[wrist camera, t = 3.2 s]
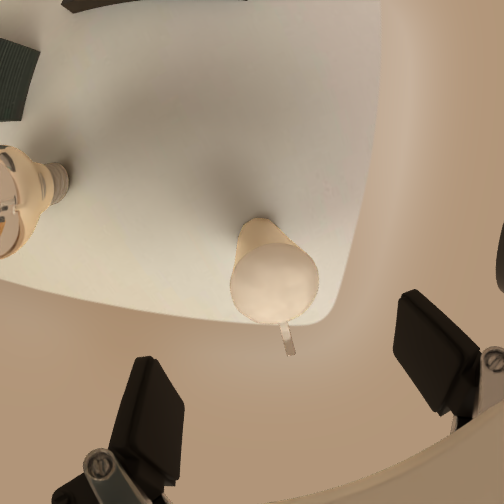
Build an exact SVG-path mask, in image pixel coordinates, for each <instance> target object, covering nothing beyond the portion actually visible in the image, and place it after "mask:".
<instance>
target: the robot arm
mask: <svg viewBox="0 0 504 504" xmlns="http://www.w3.org/2000/svg"><path fill="white" fill-rule="evenodd" d="M479 350H480V348H479V347H478V346H477V345H476V344H475V343H474V342H473V341H472V340H471V339H470V338H469V337H468V336H467V335H466V334H465V333H464V332H463V331H462V330H461V329H460V328H459V327H458V326H456V324H455V323H453V322H452V321H451V320H450V319H449V318H448V317H447V316H446V315H445V314H444V313H443V312H442V311H441V310H439V309H438V308H437V307H436V306H435V305H434V304H433V303H432V302H430V301H429V300H428V299H427V298H426V297H425V296H424V295H423V294H421V293H420V292H419V291H418V290H416V289H414V290H411V291H408V292H405V293H403V294H402V296H401V298H400V299H399V301H398V310H397V320H396V328H395V336H394V343H393V353H394V355H395V357H396V358H397V360H398V361H399V363H400V364H401V365H402V367H403V368H404V369H405V371H406V372H407V374H408V375H409V377H410V378H411V380H412V381H413V383H414V384H415V385H416V387H417V388H418V390H419V391H420V393H421V394H422V396H423V397H424V399H425V400H426V402H427V403H428V405H429V406H430V408H431V409H432V411H434V412H437V413H438V414H439V416H442V415H444V414H446V413H447V412H449V411H450V410H451V411H452V413H453V414H454V416H453V422H452V428H451V433H450V435H449V436H447V437H446V438H444V439H442V440H441V441H439V442H437V443H435V444H434V445H432V446H430V447H429V448H427V449H425V450H423V451H421V452H419V453H418V454H416V455H414V456H412V457H410V458H408V459H406V460H404V461H402V462H400V463H397V464H396V465H393V466H391V467H389V468H387V469H384V470H382V471H379V472H377V473H375V474H372V475H370V476H367V477H365V478H362V479H359V480H357V481H354V482H351V483H348V484H345V485H342V486H338V487H335V488H332V489H328V490H325V491H321V492H318V493H314V494H310V495H306V496H301V497H297V498H293V499H287V500H281V501H276V502H270V503H263V504H504V349H503V348H501V347H497V346H493V347H489V348H487V349H485V350H484V351H483V353H481V352H480V351H479ZM184 411H185V408H184V403H183V401H182V399H181V398H180V396H179V395H178V393H177V391H176V390H175V388H174V387H173V385H172V383H171V382H170V380H169V379H168V377H167V375H166V374H165V372H164V370H163V369H162V367H161V365H160V363H159V362H158V360H157V359H153V357H151V356H146V357H137V358H136V359H135V362H134V365H133V368H132V371H131V374H130V377H129V380H128V383H127V386H126V389H125V392H124V395H123V397H122V400H121V404H120V407H119V410H118V414H117V417H116V421H115V424H114V428H113V432H112V435H111V439H110V443H109V447H108V449H104V448H99V449H95V450H93V451H91V452H90V453H89V454H88V455H87V456H86V458H85V460H84V462H83V469H84V473H82V474H81V475H79V476H77V477H76V478H74V479H73V480H71V481H70V482H68V483H66V484H65V485H63V486H62V487H60V488H58V489H57V490H56V491H55V492H54V494H53V495H52V504H173V503H172V502H171V501H170V500H169V499H168V497H167V496H166V495H165V494H164V486H175V483H176V482H175V481H176V480H178V479H179V477H180V461H181V445H182V433H183V421H184Z"/></svg>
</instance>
